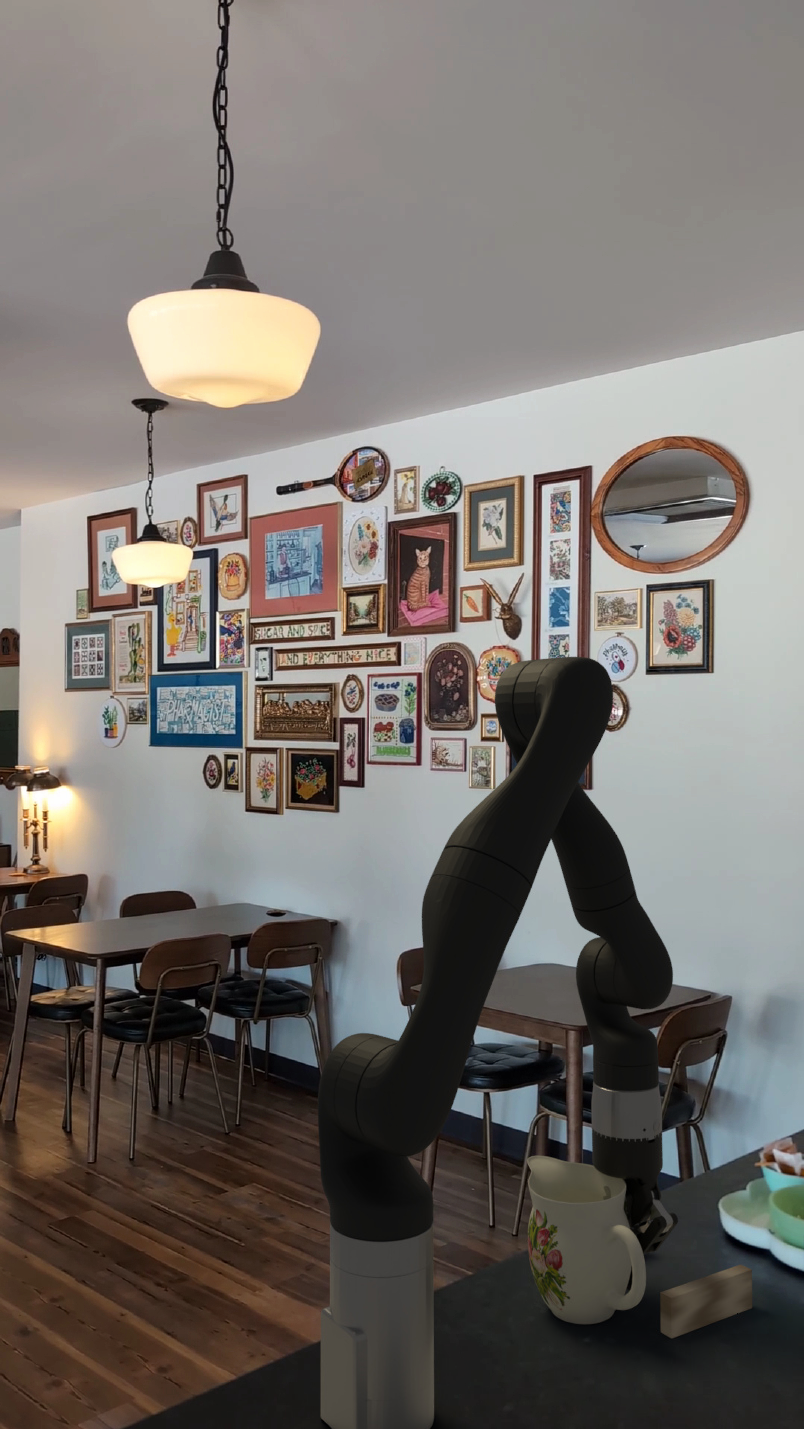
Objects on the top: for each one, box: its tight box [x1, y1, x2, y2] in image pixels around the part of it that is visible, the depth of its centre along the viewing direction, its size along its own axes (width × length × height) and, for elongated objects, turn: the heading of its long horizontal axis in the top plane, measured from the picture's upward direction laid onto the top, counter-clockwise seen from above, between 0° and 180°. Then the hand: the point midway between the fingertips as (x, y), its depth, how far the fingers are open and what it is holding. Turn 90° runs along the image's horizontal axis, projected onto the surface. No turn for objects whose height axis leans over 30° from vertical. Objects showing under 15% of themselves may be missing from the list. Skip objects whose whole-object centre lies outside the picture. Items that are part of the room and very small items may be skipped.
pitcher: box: [526, 1155, 647, 1325], centre depth 122 cm, size 11×18×14 cm, turn 30°
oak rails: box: [635, 1235, 753, 1339], centre depth 128 cm, size 12×18×4 cm
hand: (629, 1285), depth 126 cm, fingers closed
